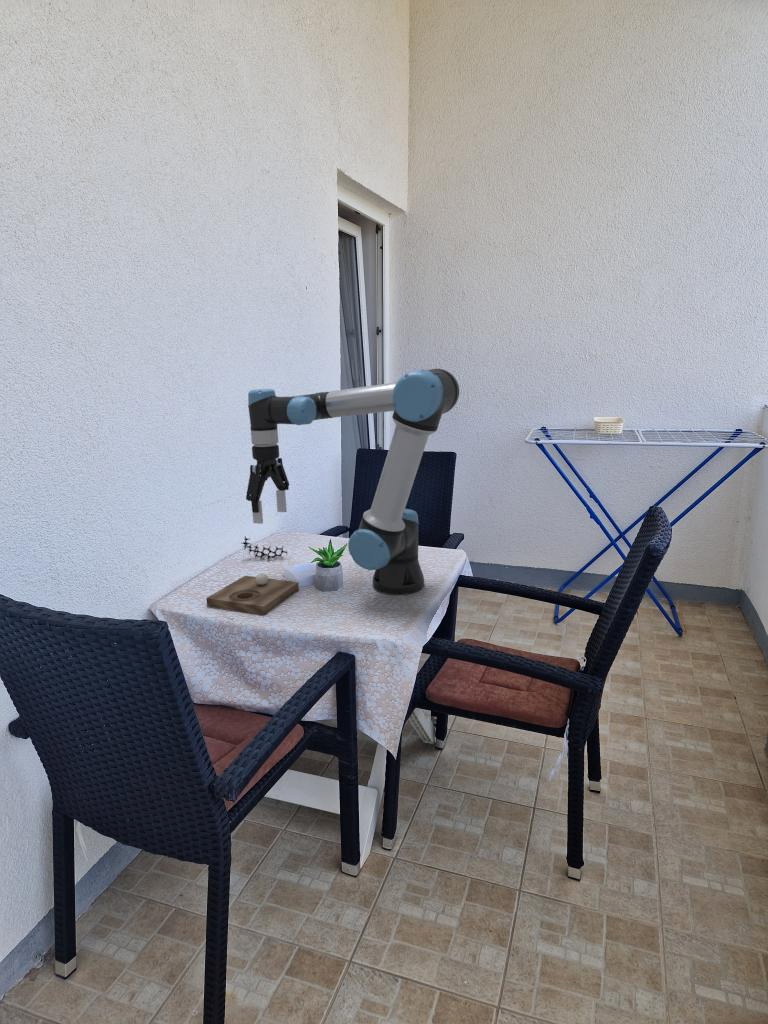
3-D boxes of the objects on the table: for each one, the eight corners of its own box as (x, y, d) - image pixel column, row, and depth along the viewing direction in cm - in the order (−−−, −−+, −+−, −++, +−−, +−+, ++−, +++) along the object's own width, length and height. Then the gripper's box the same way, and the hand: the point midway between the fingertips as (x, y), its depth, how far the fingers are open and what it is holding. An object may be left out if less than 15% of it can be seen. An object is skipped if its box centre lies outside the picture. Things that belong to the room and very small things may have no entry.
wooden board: (298, 590, 189) (298, 582, 188) (264, 615, 171) (263, 606, 171) (245, 583, 195) (244, 575, 194) (207, 606, 178) (206, 598, 177)
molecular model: (287, 561, 215) (286, 537, 213) (241, 562, 214) (239, 538, 212) (288, 555, 221) (287, 532, 219) (244, 557, 220) (242, 533, 218)
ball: (270, 583, 188) (270, 571, 187) (264, 587, 184) (263, 575, 184) (260, 581, 189) (259, 570, 188) (253, 585, 186) (252, 574, 185)
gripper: (275, 438, 197) (280, 506, 202) (228, 450, 174) (235, 527, 179) (297, 439, 194) (302, 508, 199) (253, 451, 172) (259, 529, 177)
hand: (270, 517), depth 189 cm, fingers open, 13 cm apart
